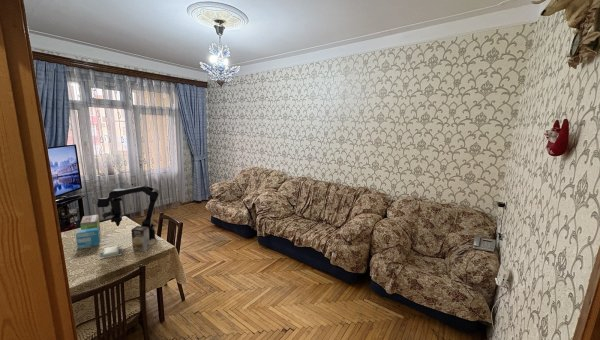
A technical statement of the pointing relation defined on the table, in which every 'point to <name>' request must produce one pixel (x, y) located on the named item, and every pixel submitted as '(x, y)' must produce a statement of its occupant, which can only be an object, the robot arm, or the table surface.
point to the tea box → (90, 222)
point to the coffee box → (140, 238)
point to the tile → (111, 251)
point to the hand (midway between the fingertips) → (117, 226)
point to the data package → (87, 238)
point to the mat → (112, 255)
